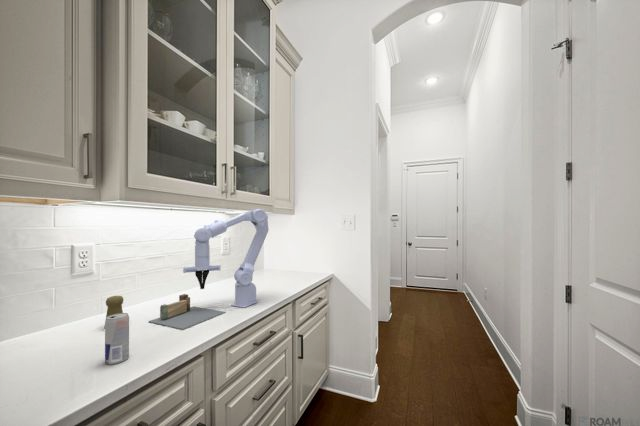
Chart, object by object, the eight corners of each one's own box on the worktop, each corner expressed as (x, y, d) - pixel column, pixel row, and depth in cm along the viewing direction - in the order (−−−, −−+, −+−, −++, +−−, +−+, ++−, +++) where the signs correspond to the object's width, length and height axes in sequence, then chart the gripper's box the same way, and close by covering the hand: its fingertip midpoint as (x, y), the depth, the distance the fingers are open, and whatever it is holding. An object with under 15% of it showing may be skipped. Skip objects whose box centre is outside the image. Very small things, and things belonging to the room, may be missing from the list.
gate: (191, 310, 117) (191, 297, 117) (163, 319, 105) (163, 305, 106) (188, 309, 117) (188, 297, 118) (160, 318, 106) (160, 305, 106)
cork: (113, 330, 98) (113, 299, 98) (99, 329, 99) (99, 298, 99) (128, 324, 104) (128, 294, 104) (115, 323, 105) (115, 293, 105)
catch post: (163, 318, 110) (163, 305, 110) (166, 318, 109) (166, 305, 109) (160, 319, 108) (160, 306, 108) (162, 320, 107) (162, 307, 108)
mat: (193, 307, 123) (193, 306, 123) (225, 312, 115) (225, 311, 115) (148, 322, 105) (148, 321, 105) (182, 330, 97) (182, 329, 97)
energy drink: (113, 355, 79) (113, 313, 79) (133, 354, 79) (133, 312, 80) (99, 365, 73) (100, 319, 74) (121, 364, 74) (121, 318, 74)
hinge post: (184, 310, 119) (184, 294, 119) (188, 311, 118) (188, 294, 118) (179, 312, 117) (179, 295, 117) (183, 313, 116) (183, 296, 116)
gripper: (220, 254, 125) (220, 285, 124) (184, 256, 120) (184, 288, 120) (220, 256, 118) (220, 288, 118) (182, 258, 113) (182, 291, 113)
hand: (202, 288), depth 118 cm, fingers closed
